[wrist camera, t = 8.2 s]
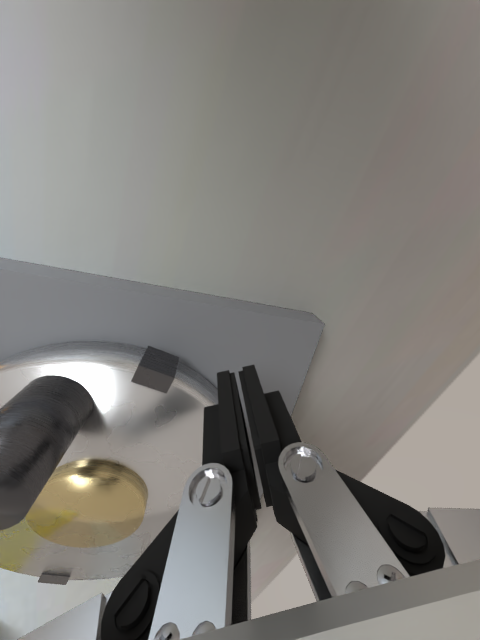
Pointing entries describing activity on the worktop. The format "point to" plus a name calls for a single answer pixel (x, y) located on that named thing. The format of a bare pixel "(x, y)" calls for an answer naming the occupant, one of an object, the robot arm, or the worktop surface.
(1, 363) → the silver dish
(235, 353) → the housing plate
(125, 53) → the worktop surface
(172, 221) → the worktop surface
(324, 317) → the worktop surface
